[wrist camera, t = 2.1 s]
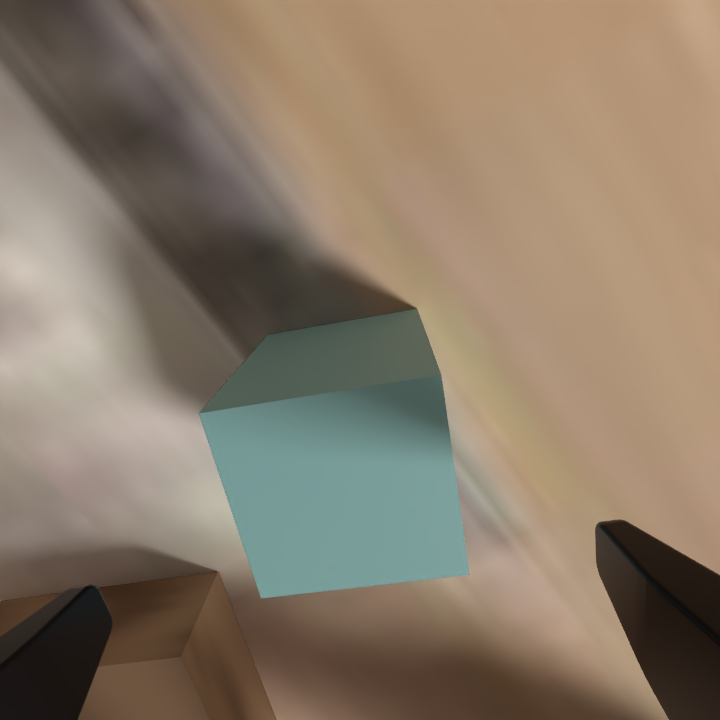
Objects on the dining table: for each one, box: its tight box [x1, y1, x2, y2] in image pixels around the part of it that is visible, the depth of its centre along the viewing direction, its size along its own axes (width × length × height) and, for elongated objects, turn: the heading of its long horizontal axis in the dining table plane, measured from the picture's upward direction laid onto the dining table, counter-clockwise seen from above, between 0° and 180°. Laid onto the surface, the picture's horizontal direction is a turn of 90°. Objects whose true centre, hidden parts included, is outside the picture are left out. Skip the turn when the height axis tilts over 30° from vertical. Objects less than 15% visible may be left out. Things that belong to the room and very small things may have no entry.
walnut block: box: [0, 572, 276, 720], centre depth 19 cm, size 10×10×4 cm
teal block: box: [199, 309, 469, 598], centre depth 12 cm, size 5×5×6 cm
